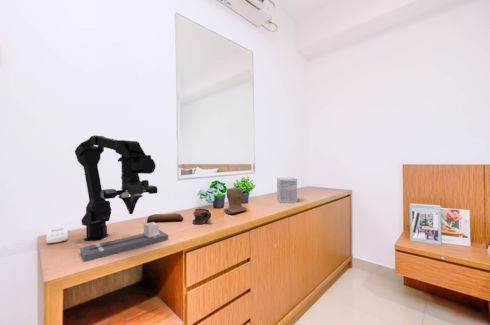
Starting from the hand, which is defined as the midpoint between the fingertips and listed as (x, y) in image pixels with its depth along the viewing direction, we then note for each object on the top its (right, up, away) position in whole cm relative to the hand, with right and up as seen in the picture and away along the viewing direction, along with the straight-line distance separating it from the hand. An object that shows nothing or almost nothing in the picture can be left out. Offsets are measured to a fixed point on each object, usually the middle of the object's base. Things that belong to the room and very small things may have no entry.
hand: (131, 214), depth 86 cm
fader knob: (+6, -9, +5) cm, 12 cm away
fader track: (-1, -12, -1) cm, 12 cm away
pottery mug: (+22, -12, +30) cm, 39 cm away
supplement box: (+76, -10, +84) cm, 114 cm away
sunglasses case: (+1, -12, +35) cm, 37 cm away
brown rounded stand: (+37, -11, +52) cm, 65 cm away
